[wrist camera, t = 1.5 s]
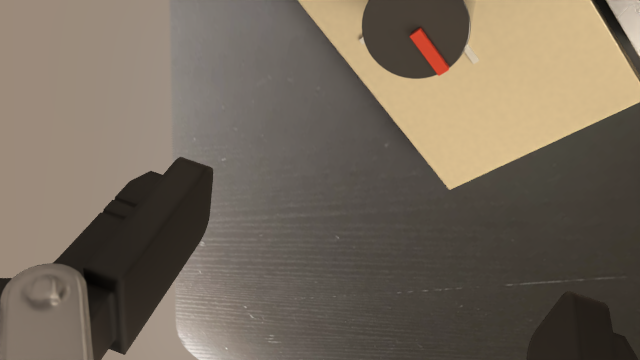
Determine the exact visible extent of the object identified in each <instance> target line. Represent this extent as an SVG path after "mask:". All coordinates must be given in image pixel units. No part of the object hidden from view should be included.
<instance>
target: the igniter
mask: <svg viewBox="0 0 640 360" xmlns="http://www.w3.org/2000/svg"><path fill="white" fill-rule="evenodd" d="M606 2H607V4H608V5H609V7H610V9H611V10H612V12H613V14H614V16H615V17H616V19H617V21H618V22H619V24H620V26H621V27H622V29H623V31H624V33H625V34H626V36H627V38H628V39H629V41H630V43H631V44H632V46H633V48H634V50H635V51H636V53H637V55H638V56H639V58H640V0H606Z"/></svg>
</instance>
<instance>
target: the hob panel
mask: <svg viewBox="0 0 640 360" xmlns="http://www.w3.org/2000/svg"><path fill="white" fill-rule="evenodd" d="M298 1H299V3H300V4H301V5H302V6H303V8H304V9H305V10H306V11H307V13H308V14H309V15H310V16H311V18H312V19H313V20H314V21H315V23H316V24H317V25H318V26H319V28H320V29H321V30H322V31H323V33H324V34H325V35H326V36H327V38H328V39H329V40H330V41H331V43H332V44H333V45H334V46H335V48H336V49H337V50H338V51H339V53H340V54H341V55H342V56H343V58H344V59H345V60H346V61H347V63H348V64H349V65H350V66H351V68H352V69H353V70H354V71H355V73H356V74H357V75H358V76H359V78H360V79H361V80H362V81H363V83H364V84H365V85H366V86H367V88H368V89H369V90H370V91H371V93H372V94H373V95H374V96H375V98H376V99H377V100H378V101H379V103H380V104H381V105H382V106H383V108H384V109H385V110H386V111H387V113H388V114H389V115H390V116H391V118H392V119H393V120H394V121H395V123H396V124H397V125H398V126H399V128H400V129H401V130H402V131H403V133H404V134H405V135H406V136H407V138H408V139H409V140H410V141H411V143H412V144H413V145H414V146H415V148H416V149H417V150H418V151H419V152H420V154H421V155H422V156H423V157H424V159H425V160H426V161H427V162H428V164H429V165H430V166H431V167H432V169H433V170H434V171H435V172H436V174H437V175H438V176H439V177H440V179H441V180H442V181H443V182H444V184H445V185H446V186H447V187H448V189H449V190H450V189H453V188H455V187H457V186H459V185H461V184H463V183H465V182H468V181H470V180H472V179H474V178H476V177H478V176H481V175H483V174H485V173H487V172H489V171H491V170H494V169H496V168H498V167H500V166H502V165H504V164H507V163H509V162H511V161H513V160H515V159H517V158H520V157H522V156H524V155H526V154H528V153H530V152H533V151H535V150H537V149H539V148H541V147H543V146H545V145H548V144H550V143H552V142H554V141H556V140H558V139H561V138H563V137H565V136H567V135H569V134H571V133H574V132H576V131H578V130H580V129H582V128H584V127H587V126H589V125H591V124H593V123H595V122H597V121H600V120H602V119H604V118H606V117H608V116H610V115H613V114H615V113H617V112H619V111H621V110H623V109H625V108H628V107H630V106H632V105H634V104H636V103H638V102H640V75H639V73H638V72H637V70H636V68H635V67H634V65H633V63H632V62H631V60H630V58H629V57H628V55H627V53H626V52H625V50H624V48H623V46H622V45H621V43H620V41H619V40H618V38H617V36H616V35H615V33H614V31H613V30H612V28H611V26H610V25H609V23H608V21H607V20H606V18H605V16H604V15H603V13H602V11H601V10H600V8H599V6H598V5H597V3H596V1H595V0H476V2H475V8H474V14H473V20H472V26H471V32H470V38H469V41H468V44H467V47H466V49H465V51H464V52H463V54H462V56H461V57H460V58H459V59H458V61H457V62H456V63H455V64H454V65H452V66H451V67H450V68H449V70H448V71H447V72H445V73H443V74H442V75H440V76H438V75H435V76H432V77H428V78H422V79H411V78H404V77H400V76H397V75H395V74H392V73H391V72H389V71H387V70H385V69H384V68H383V67H381V66H380V65H379V64H378V63H377V62H376V61H375V60H374V59H373V57H372V56H371V55H370V53H369V51H368V49H367V48H366V45H365V42H364V39H363V35H362V17H363V12H364V9H365V6H366V4H367V2H368V0H298Z"/></svg>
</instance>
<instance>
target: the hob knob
mask: <svg viewBox="0 0 640 360" xmlns="http://www.w3.org/2000/svg"><path fill="white" fill-rule="evenodd" d="M475 2H476V0H368V2H367V4H366V6H365V9H364V12H363V17H362V35H363V39H364V42H365V45H366V48H367V49H368V51H369V53H370V55H371V56H372V57H373V59H374V60H375V61H376V62H377V63H378V64H379V65H380V66H381V67H383V68H384V69H385V70H387V71H389V72H391V73H392V74H395V75H397V76H400V77H404V78H411V79H422V78H428V77H432V76H435V75H438V76H440V75H442V74H443V73H445V72H447V71H448V70H449V68H450V67H451V66H452V65H454V64H455V63H456V62H457V61H458V59H459V58H460V57H461V56H462V54H463V52H464V51H465V49H466V47H467V44H468V41H469V38H470V32H471V26H472V20H473V14H474V8H475Z"/></svg>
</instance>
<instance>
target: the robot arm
mask: <svg viewBox="0 0 640 360" xmlns="http://www.w3.org/2000/svg"><path fill="white" fill-rule="evenodd" d="M212 182H213V169H212V168H211V167H209V166H206V165H203V164H200V163H197V162H194V161H191V160H188V159H185V158H183V157H180V158H178V159H176V160H175V162H174V163H173V164H172V165H171V166H170V167H169V168H168V170H167V171H166V172H165V173H164V174H163V175H161V174H158V173H156V172H152V171H150V172H148V173H146V174H144V175H142V176H140V177H138V178H136V179H133V180H131V181H130V182H129V183H128V184H127V185H126V186H125V187H124V188H123V189H122V190H121V191H120V192H119V193H118V195H117V196H116V197H115V200H112V201H111V202H110V203H109V204H108V205H107V206H106V207H105V209H104V211H103V213H100V214H99V215H98V216H97V217H96V218H95V219H94V220H93V221H92V222H91V224H90V225H89V226H88V227H87V228H86V229H85V230H84V231H83V232H82V233H81V234H80V235H79V236H78V238H76V240H75V241H74V242H73V243H72V244H71V245H70V246H69V247H68V248H67V249H66V250H65V251H64V252H63V254H62V255H61V256H60V257H59V258H58V259H57V260H56V261H55V262H53V263H51V264H42V265H37V266H34V267H31V268H28V269H26V270H24V271H22V272H20V273H19V274H17V275H16V276H15V277H13V278H0V360H101V359H102V357H103V356H104V355H105V353H106V352H107V350H108V349H111V350H114V351H116V352H119V353H121V354H124V355H125V354H126V352H127V350H128V349H129V347H130V346H131V345H132V343H133V342H134V340H135V339H136V337H137V336H138V334H139V333H140V331H141V330H142V328H143V326H144V325H145V323H146V322H147V321H148V319H149V318H150V316H151V315H152V313H153V312H154V310H155V308H156V307H157V305H158V304H159V302H160V301H161V299H162V298H163V296H164V295H165V294H166V292H167V290H168V289H169V288H170V286H171V285H172V283H173V282H174V280H175V279H176V277H177V276H178V274H179V273H180V271H181V270H182V268H183V267H184V265H185V264H186V262H187V261H188V259H189V258H190V256H191V254H192V253H193V251H194V250H195V248H196V247H197V245H198V244H199V242H200V241H201V239H202V237H203V235H204V233H205V230H206V228H207V225H208V221H209V216H210V205H211V194H212ZM527 360H638V358H637V356H636V355H635V353H634V351H633V350H632V348H631V346H630V345H629V343H628V341H627V340H626V338H625V336H622V335H619V334H616V333H613V330H612V324H611V318H610V313H609V308H608V306H607V305H606V304H605V303H603V302H600V301H597V300H594V299H591V298H588V297H585V296H582V295H579V294H576V293H574V292H571V291H567V292H565V293H564V294H563V295H562V296H561V298H560V299H559V300H558V302H557V303H556V304H555V305H554V307H553V308H552V309H551V311H550V312H549V313H548V315H547V316H546V317H545V319H544V320H543V321H542V323H541V324H540V325H539V327H538V328H537V329H536V331H535V332H534V334H533V336H532V338H531V341H530V344H529V347H528V352H527Z"/></svg>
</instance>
